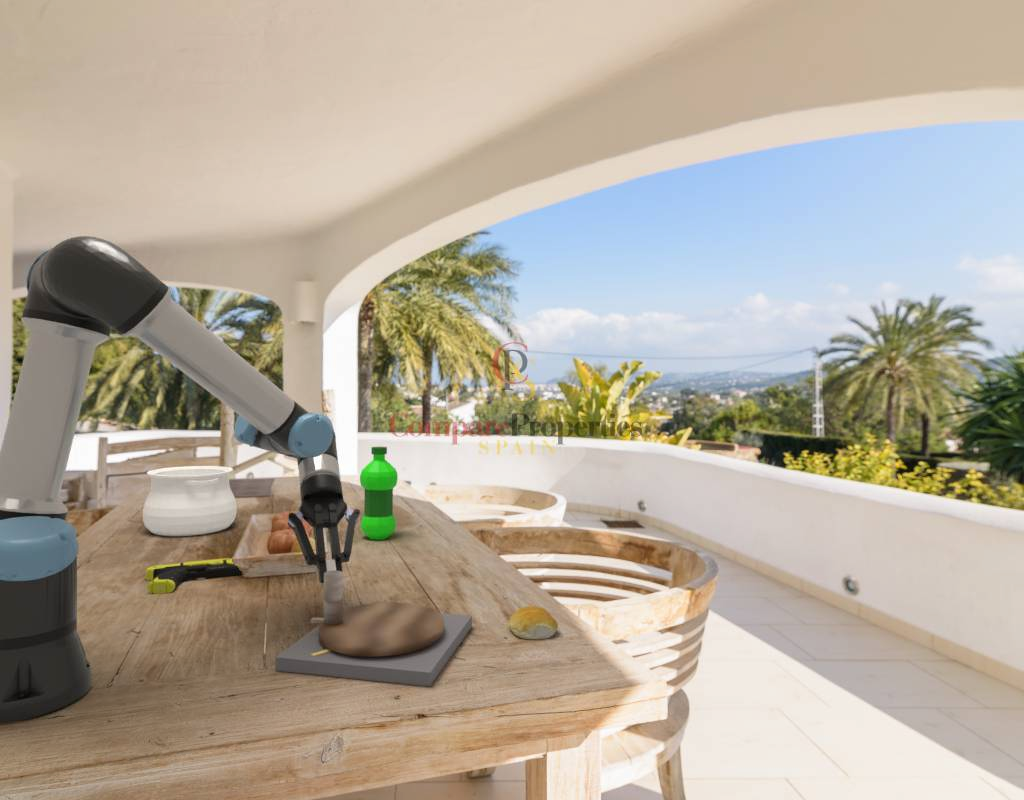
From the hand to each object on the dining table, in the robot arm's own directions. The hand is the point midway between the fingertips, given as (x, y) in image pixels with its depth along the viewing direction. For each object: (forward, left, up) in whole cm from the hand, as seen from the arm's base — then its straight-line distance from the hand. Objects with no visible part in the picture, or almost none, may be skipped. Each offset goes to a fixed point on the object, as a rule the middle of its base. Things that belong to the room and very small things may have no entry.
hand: (333, 598), depth 112 cm
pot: (+68, +77, -7) cm, 103 cm away
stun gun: (+24, +43, -8) cm, 50 cm away
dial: (-1, -9, -4) cm, 10 cm away
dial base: (-1, -9, -7) cm, 12 cm away
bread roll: (+11, -32, -7) cm, 35 cm away
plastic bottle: (+71, +21, -7) cm, 74 cm away
